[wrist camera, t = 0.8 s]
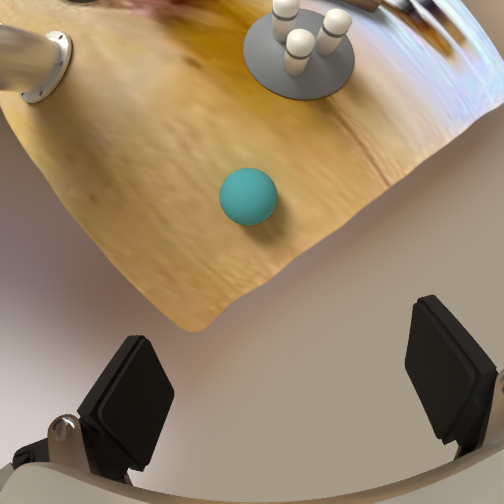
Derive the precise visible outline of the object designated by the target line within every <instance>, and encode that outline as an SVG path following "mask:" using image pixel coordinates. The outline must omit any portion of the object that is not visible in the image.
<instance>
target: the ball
mask: <svg viewBox="0 0 504 504" xmlns="http://www.w3.org/2000/svg"><path fill="white" fill-rule="evenodd" d="M276 203H277V190H276V187H275V184H274V182H273V181H272V180H271V178H270V177H269V176H268V175H267V174H265V173H264V172H262V171H260V170H257V169H253V168H244V169H240V170H237V171H235V172H233V173H232V174H230V175H229V176H228V177H227V178H226V180H225V181H224V182H223V184H222V187H221V190H220V204H221V207H222V209H223V211H224V213H225V214H226V215H227V216H228V217H229V218H230V219H231V220H233V221H234V222H236V223H239V224H242V225H255V224H258V223H261V222H263V221H264V220H266V219H267V218H268V217H269V216H270V215H271V214H272V212H273V211H274V209H275V207H276Z"/></svg>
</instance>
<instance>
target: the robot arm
mask: <svg viewBox="0 0 504 504" xmlns="http://www.w3.org/2000/svg"><path fill="white" fill-rule="evenodd" d="M71 50H72V47H71V40H70V37H69V36H68V35H67V34H66V33H64V32H62V31H52V32H50V33H48V34H46V35H41V34H38V33H35V32H32V31H29V30H25V29H22V28H18V27H15V26H11V25H7V24H3V23H0V91H10V92H19V94H20V97H21V98H22V100H24V101H25V102H29V103H36V102H39V101H41V100H43V99H44V98H46V97H47V96H48V95H49V94H50V93H51V92H52V91H53V90H54V89H55V87H56V86H57V85H58V83H59V82H60V80H61V78H62V77H63V75H64V73H65V71H66V68H67V66H68V63H69V60H70V56H71ZM405 369H406V371H407V373H408V375H409V377H410V379H411V382H412V384H413V386H414V388H415V390H416V392H417V394H418V396H419V398H420V401H421V403H422V405H423V407H424V409H425V412H426V414H427V416H428V419H429V421H430V423H431V426H432V428H433V430H434V433H435V435H436V437H437V438H438V439H442V442H443V444H444V445H445V444H447V443H450V442H452V441H454V440H456V441H457V443H458V446H459V447H458V450H457V452H456V455H455V458H454V460H453V461H451V462H449V463H447V464H444V465H442V466H440V467H437V468H435V469H432V470H430V471H427V472H424V473H421V474H419V475H416V476H413V477H410V478H408V479H404V480H401V481H398V482H395V483H391V484H388V485H384V486H381V487H377V488H373V489H369V490H365V491H360V492H356V493H351V494H346V495H340V496H334V497H327V498H321V499H312V500H303V501H292V502H291V501H290V502H269V503H247V502H246V503H245V502H225V501H212V500H203V499H194V498H187V497H181V496H175V495H170V494H164V493H159V492H155V491H150V490H146V489H142V488H138V487H134V486H133V485H132V482H131V480H130V478H129V475H128V473H127V470H128V468H130V469H132V470H136V471H141V472H143V471H144V468H145V466H147V465H148V464H149V463H150V460H151V458H152V455H153V452H154V449H155V447H156V444H157V441H158V439H159V436H160V433H161V430H162V428H163V425H164V422H165V420H166V417H167V414H168V412H169V409H170V407H171V404H172V401H173V399H174V389H173V387H172V385H171V383H170V381H169V380H168V378H167V376H166V374H165V372H164V370H163V368H162V366H161V364H160V362H159V360H158V357H157V355H156V353H155V351H154V349H153V347H152V345H151V342H150V341H149V340H148V339H146V338H145V337H144V336H142V335H140V336H139V335H136V336H128V337H127V338H126V340H125V341H124V342H123V344H122V345H121V347H120V348H119V349H118V351H117V352H116V354H115V355H114V356H113V358H112V359H111V361H110V362H109V364H108V365H107V366H106V368H105V369H104V371H103V372H102V374H101V375H100V377H99V378H98V380H97V381H96V382H95V384H94V386H93V387H92V388H91V390H90V391H89V393H88V394H87V396H86V398H85V399H84V401H83V402H82V404H81V405H80V407H79V408H78V410H77V412H78V414H79V415H80V416H81V417H80V418H79V419H78V418H77V417H76V416H74V415H72V414H65V415H61V416H59V417H57V418H56V419H55V420H54V421H53V422H52V423H51V424H50V426H49V428H48V433H47V436H48V437H47V438H45V439H43V440H40V441H37V442H35V443H32V444H30V445H27V446H24V447H22V448H20V449H19V450H17V451H16V453H15V454H14V457H13V463H11V462H10V463H9V464H8V465H6V466H5V467H3V468H2V469H1V470H0V504H504V369H503V370H502V371H501V372H500V373H498V372H497V370H496V366H495V365H494V363H493V362H492V361H491V359H490V358H489V357H488V356H487V354H486V353H485V352H484V351H483V349H482V348H481V347H480V346H479V344H478V343H477V342H476V341H475V340H474V339H473V337H472V336H471V335H470V334H469V333H468V331H467V330H466V329H465V328H464V327H463V326H462V325H461V323H460V322H459V321H458V320H457V319H456V318H455V317H454V315H453V314H452V313H451V312H450V311H449V310H448V309H447V308H446V307H445V306H444V305H443V304H442V303H441V302H440V300H439V299H438V298H437V297H436V296H435V295H429V296H425V297H421V298H419V299H418V300H417V303H415V304H414V305H413V311H412V319H411V327H410V334H409V340H408V346H407V352H406V358H405Z"/></svg>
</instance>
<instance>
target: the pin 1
mask: <svg viewBox="0 0 504 504" xmlns="http://www.w3.org/2000/svg"><path fill="white" fill-rule="evenodd" d="M299 3H300V2H299V0H273V6H272V14H273V32H272V34H273V37H274V38H275V39H276V40H277V41H280V42H287V37H288V34H289V33H290V32H291V31H293V30H294V28H295V23H296V18H297V15H298V11H299V9H298V8H299Z"/></svg>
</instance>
